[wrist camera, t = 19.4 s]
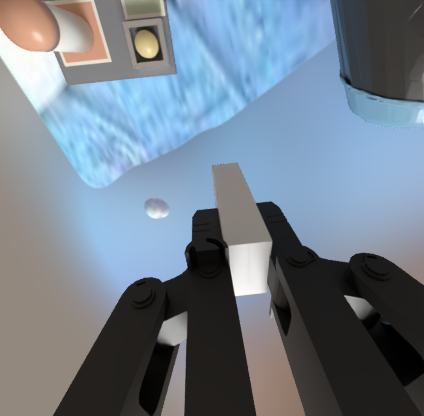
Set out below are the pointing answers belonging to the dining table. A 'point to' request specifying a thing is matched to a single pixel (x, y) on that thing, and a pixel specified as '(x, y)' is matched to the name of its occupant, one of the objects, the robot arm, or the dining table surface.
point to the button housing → (130, 38)
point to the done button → (147, 44)
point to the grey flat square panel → (112, 40)
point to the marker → (44, 27)
